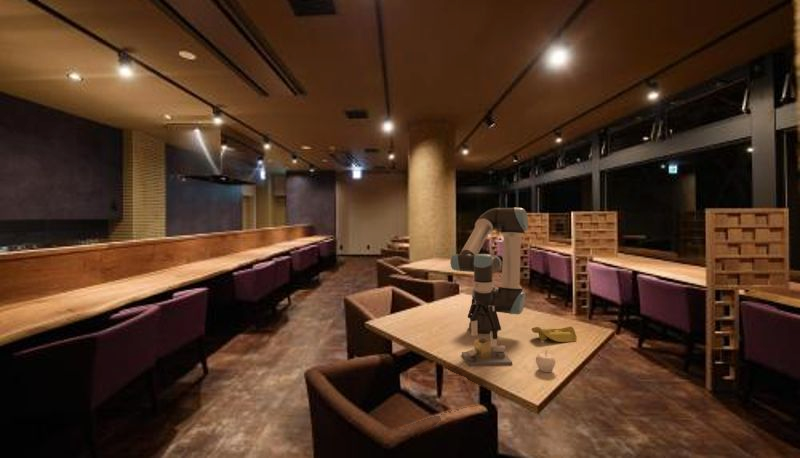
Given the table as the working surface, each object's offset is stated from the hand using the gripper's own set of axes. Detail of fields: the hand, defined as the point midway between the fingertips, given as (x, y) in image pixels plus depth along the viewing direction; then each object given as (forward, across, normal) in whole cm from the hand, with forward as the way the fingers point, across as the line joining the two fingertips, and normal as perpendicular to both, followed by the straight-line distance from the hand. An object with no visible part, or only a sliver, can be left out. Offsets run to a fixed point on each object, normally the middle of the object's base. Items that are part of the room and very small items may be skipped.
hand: (483, 340), depth 154 cm
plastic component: (+9, -7, +45) cm, 47 cm away
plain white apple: (+8, +20, +15) cm, 26 cm away
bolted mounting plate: (+7, +2, 0) cm, 8 cm away
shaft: (+6, +2, -7) cm, 9 cm away
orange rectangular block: (+6, 0, -1) cm, 6 cm away
